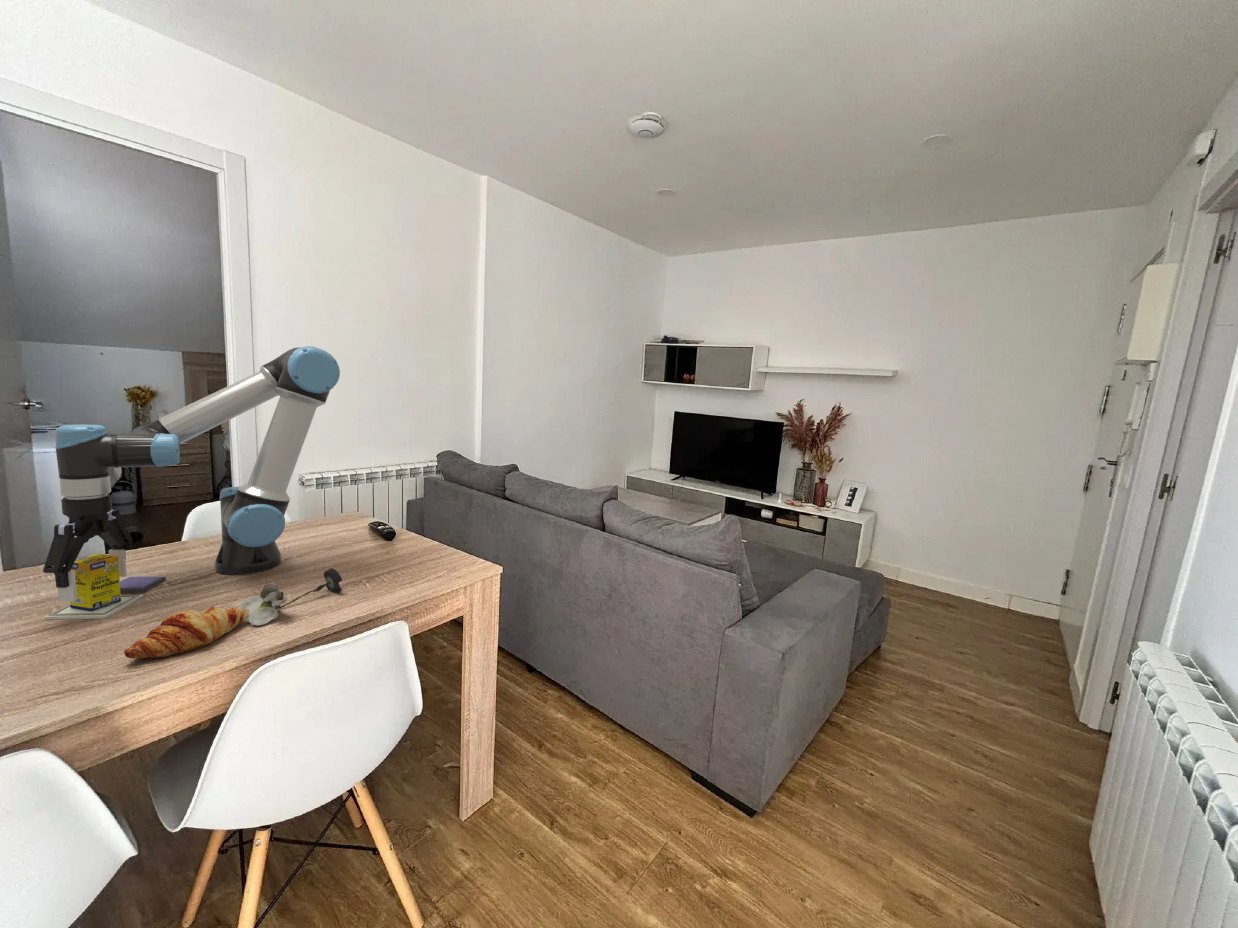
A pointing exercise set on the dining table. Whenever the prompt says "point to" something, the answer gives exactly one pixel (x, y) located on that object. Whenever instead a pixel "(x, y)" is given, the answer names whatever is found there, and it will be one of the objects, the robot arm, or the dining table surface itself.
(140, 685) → the dining table surface
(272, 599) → the artificial flower
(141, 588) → the ink pad
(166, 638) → the croissant
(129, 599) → the board
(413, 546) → the dining table surface
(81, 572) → the supplement box
